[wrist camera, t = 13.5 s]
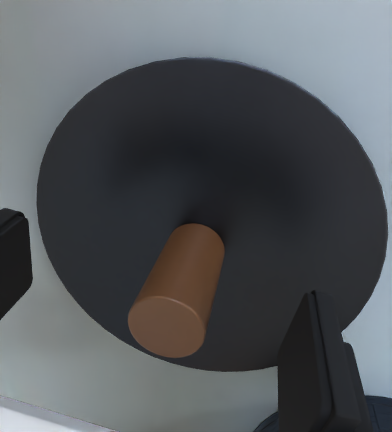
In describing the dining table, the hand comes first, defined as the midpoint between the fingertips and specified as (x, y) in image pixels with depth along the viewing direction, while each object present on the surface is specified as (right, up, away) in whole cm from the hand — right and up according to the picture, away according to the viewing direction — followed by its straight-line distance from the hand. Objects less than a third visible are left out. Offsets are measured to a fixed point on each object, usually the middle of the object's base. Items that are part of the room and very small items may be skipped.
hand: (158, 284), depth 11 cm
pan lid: (+1, +1, +5) cm, 5 cm away
